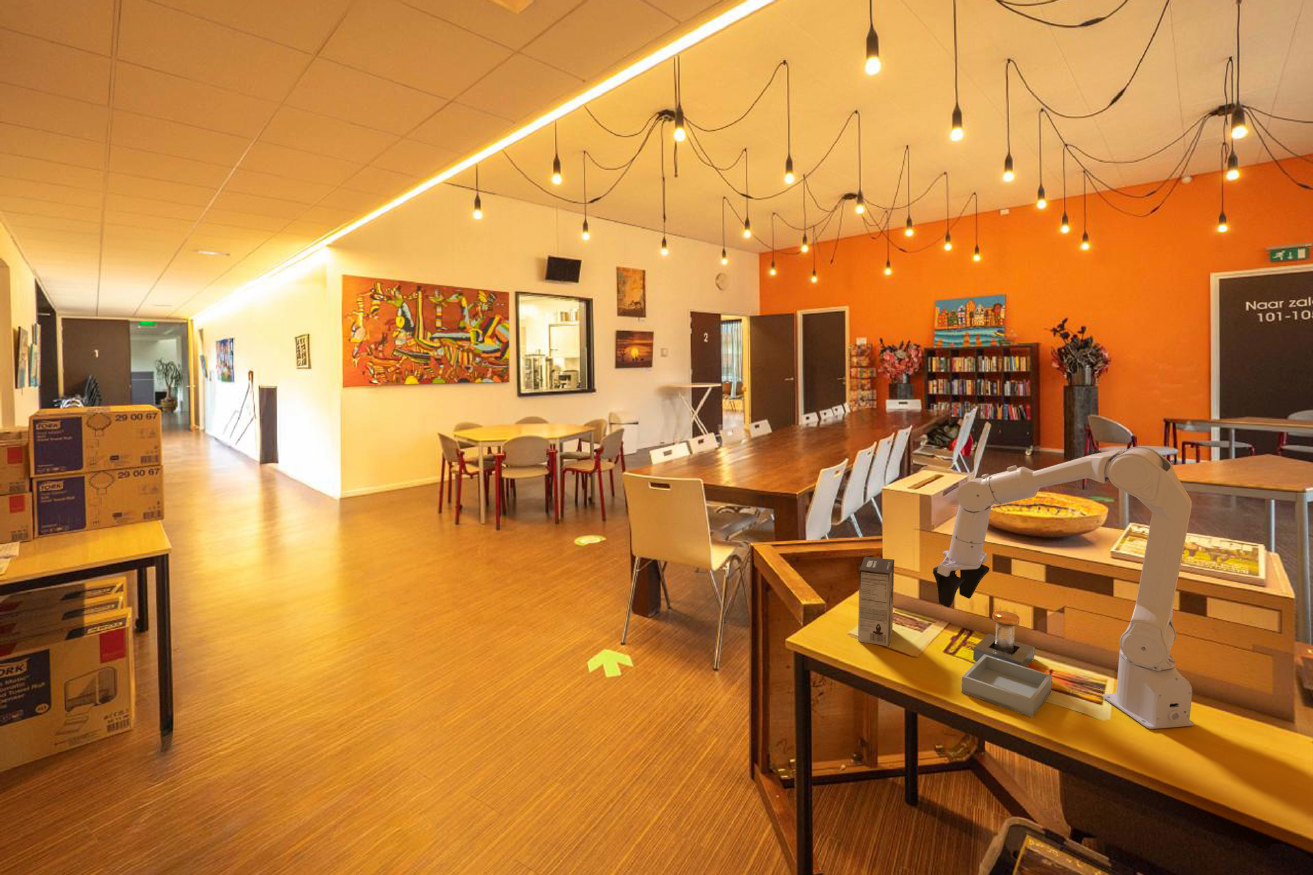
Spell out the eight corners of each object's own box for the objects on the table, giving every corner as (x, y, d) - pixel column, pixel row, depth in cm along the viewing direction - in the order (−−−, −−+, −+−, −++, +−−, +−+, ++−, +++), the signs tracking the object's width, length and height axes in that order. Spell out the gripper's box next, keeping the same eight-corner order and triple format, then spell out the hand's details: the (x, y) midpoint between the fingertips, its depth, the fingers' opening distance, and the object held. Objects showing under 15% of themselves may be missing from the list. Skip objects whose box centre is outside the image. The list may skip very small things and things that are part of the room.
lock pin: (1022, 664, 118) (1025, 620, 117) (999, 665, 118) (1002, 621, 117) (1007, 652, 123) (1009, 610, 122) (985, 654, 123) (987, 611, 121)
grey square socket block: (1034, 658, 120) (1034, 646, 120) (1020, 674, 115) (1021, 662, 114) (987, 644, 126) (988, 633, 126) (973, 659, 121) (973, 647, 120)
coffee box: (862, 624, 138) (864, 555, 135) (893, 628, 135) (894, 558, 133) (857, 641, 129) (858, 568, 127) (889, 647, 127) (891, 572, 124)
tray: (1051, 690, 109) (1052, 675, 109) (1032, 717, 101) (1033, 700, 101) (983, 668, 117) (984, 654, 117) (961, 692, 109) (962, 676, 109)
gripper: (968, 525, 127) (955, 584, 131) (928, 536, 119) (916, 599, 122) (1002, 537, 122) (988, 599, 125) (963, 550, 114) (949, 616, 117)
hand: (954, 600), depth 123 cm, fingers open, 7 cm apart
